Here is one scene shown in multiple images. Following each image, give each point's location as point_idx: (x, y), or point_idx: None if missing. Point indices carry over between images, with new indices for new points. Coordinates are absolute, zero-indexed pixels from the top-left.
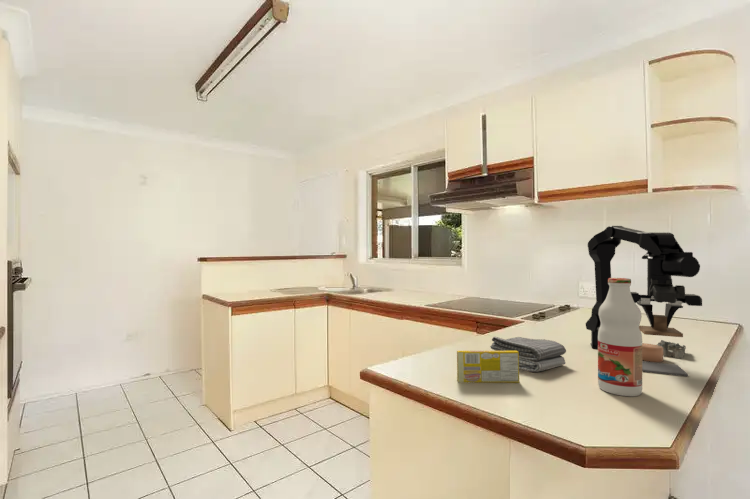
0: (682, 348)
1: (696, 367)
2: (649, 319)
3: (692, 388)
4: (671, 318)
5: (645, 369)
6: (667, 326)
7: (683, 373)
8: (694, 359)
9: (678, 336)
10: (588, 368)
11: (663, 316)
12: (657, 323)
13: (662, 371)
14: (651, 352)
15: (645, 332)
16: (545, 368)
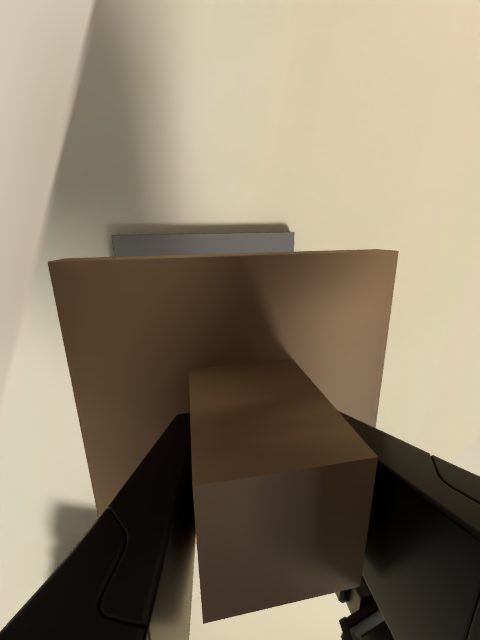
0: None
1: (59, 415)
2: (385, 439)
3: (125, 10)
4: (117, 494)
5: (275, 240)
6: (178, 421)
7: (129, 244)
8: (51, 536)
9: (104, 257)
10: (474, 186)
11: (238, 510)
12: (290, 396)
13: (212, 236)
14: None
15: (380, 250)
16: None
